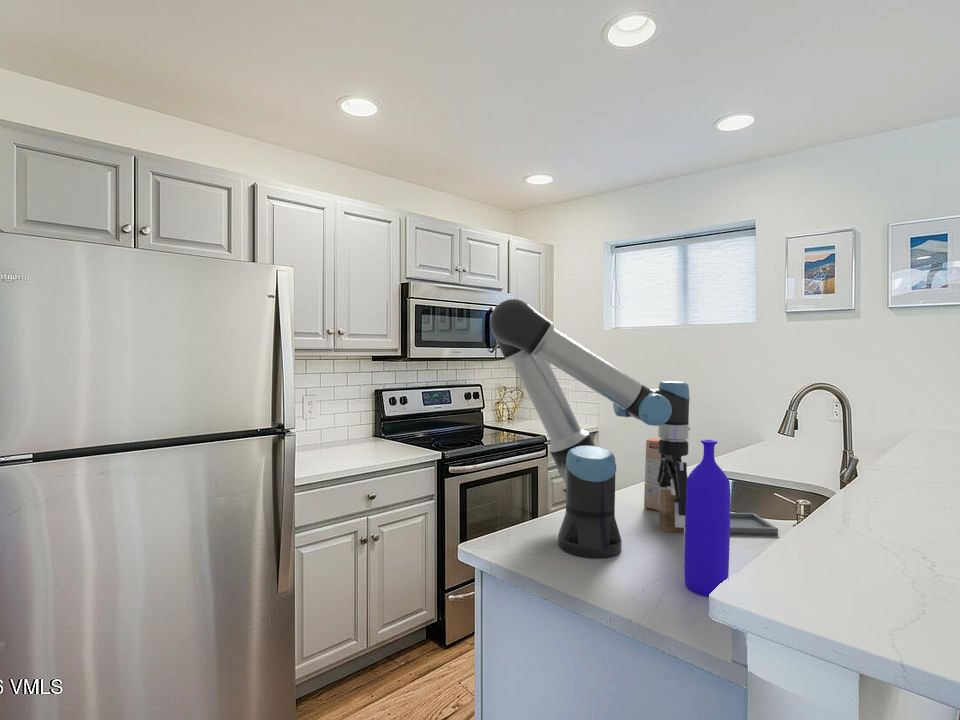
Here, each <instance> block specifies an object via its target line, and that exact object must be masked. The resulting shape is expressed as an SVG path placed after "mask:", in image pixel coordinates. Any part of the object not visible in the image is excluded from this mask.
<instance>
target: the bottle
mask: <svg viewBox="0 0 960 720" xmlns="http://www.w3.org/2000/svg"><path fill="white" fill-rule="evenodd" d="M700 443H701V444H703V455H702V456H703V457H702V459H701V461H700V462H699V464H697V465H696V466H695V467H694V468H693V469H692V471H691V472H690V473H689V475H687V478H688V479H687V488H686V510H685V528H684V563H683V565H684V567H683V568H684V569H683V570H684V585H685V587H686V588H687V590H689V591H690V592H691V593H694V594H696V595H699V596H702V597H708V596H709V594H710V593H711V592H712V591H713V590H714V589H715V588H716V587H717V586H718V585H719V584H720V583H722V582H723V581H724V580H726V579H727V578H728V579H729V571H730V569H729V568H730V545H731V544H730V542H731V541H730V540H731V537H730V536H731V534H730V513H731V486H730V480H729V478H728V476H727V475H726V473H725V472H724V470H723V469H722V468H721V467H720V466H719V465H718V464H717V461H716V459H715V446H716V445H718V444H719V443H718V441H717V440H714V439H701V440H700ZM708 598H709V597H708Z"/></svg>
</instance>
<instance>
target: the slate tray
mask: <svg viewBox="0 0 960 720" xmlns="http://www.w3.org/2000/svg"><path fill="white" fill-rule="evenodd" d="M730 535H743V536H746V535H747V536H774V537H775V535H778V536H779V528H777V527H776V526H774V525H773V524H771V523H770V522H768V521H767V520H766V519H764V518H763V517H761V516H759V515H758V514H757V513H754V512H730Z"/></svg>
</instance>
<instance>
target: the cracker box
mask: <svg viewBox="0 0 960 720" xmlns="http://www.w3.org/2000/svg"><path fill="white" fill-rule="evenodd" d="M659 439H661V438H660V437H659V436H658V437H653V438H649V439H646V441H645V442H646V443H645V467H644V470H645V471H644V472H645V474H644V494H643V495H644V496H643V498H644V500H643V501H644V502H643V508H644V509H648V510H653V511H657V512H660V510H659V502H660V487H661V486H659V482H657V478H658V472H659V467H660V461H661V454H660V453H659V451H658V446H659ZM670 483H671V487H670V490H674V485H673V480H672V479H671V481H670ZM667 487H669V486H667Z"/></svg>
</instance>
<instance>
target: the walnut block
mask: <svg viewBox="0 0 960 720" xmlns="http://www.w3.org/2000/svg"><path fill="white" fill-rule="evenodd" d="M682 497H683V496H682ZM675 499H676V494H675V490H660V511H659V518H658V521H659V525H658V526H659V527H660V529H661V530H662V531H663V532H664V533H666V534H667V533H669V534H670V533H673V534H674V533H675V534H678V533H679V534H685V528H683V527H675V502H674V500H675Z"/></svg>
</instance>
